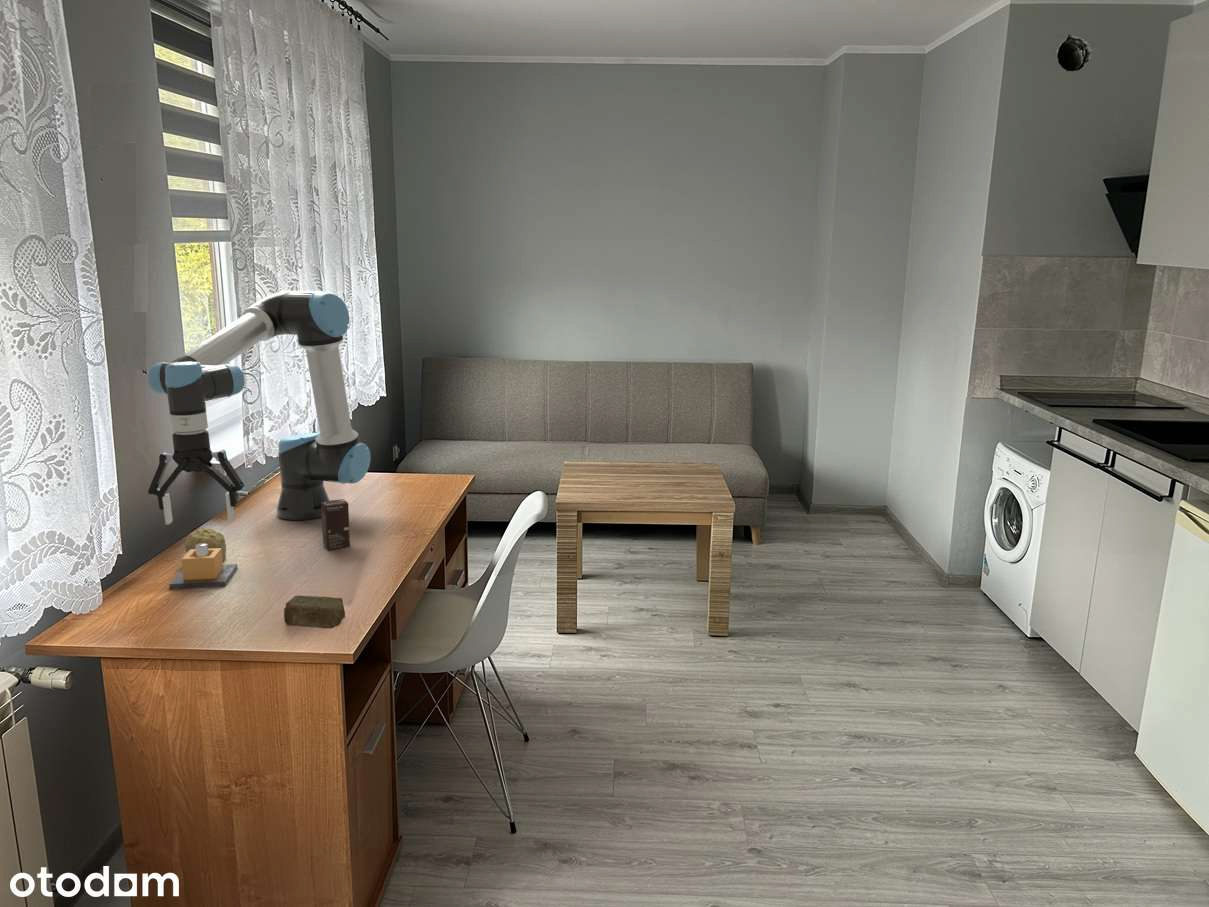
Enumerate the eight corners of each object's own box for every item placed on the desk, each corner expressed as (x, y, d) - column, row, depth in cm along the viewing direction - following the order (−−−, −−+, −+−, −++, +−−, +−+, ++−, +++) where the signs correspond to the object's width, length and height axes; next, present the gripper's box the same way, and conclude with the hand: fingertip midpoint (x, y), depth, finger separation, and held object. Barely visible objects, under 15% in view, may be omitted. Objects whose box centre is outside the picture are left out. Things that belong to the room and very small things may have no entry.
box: (328, 551, 234) (325, 505, 232) (323, 546, 238) (319, 501, 235) (351, 547, 237) (348, 502, 235) (345, 542, 241) (343, 498, 239)
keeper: (185, 571, 219) (181, 538, 218) (237, 568, 221) (234, 536, 219) (169, 589, 208) (165, 554, 206) (225, 586, 210) (222, 552, 208)
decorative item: (227, 574, 228) (241, 537, 232) (202, 562, 219) (216, 523, 223) (196, 571, 231) (210, 534, 235) (170, 558, 222) (185, 520, 226)
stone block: (296, 615, 193) (294, 593, 192) (347, 619, 192) (346, 596, 191) (282, 626, 188) (281, 603, 187) (335, 630, 186) (334, 607, 185)
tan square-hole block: (192, 569, 217) (190, 549, 216) (223, 568, 218) (221, 548, 217) (183, 579, 210) (181, 559, 209) (215, 578, 211) (213, 557, 210)
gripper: (125, 436, 201) (137, 528, 206) (244, 432, 205) (253, 523, 210) (137, 429, 209) (148, 518, 214) (251, 425, 212) (260, 513, 217)
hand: (200, 521), depth 212 cm, fingers open, 13 cm apart
